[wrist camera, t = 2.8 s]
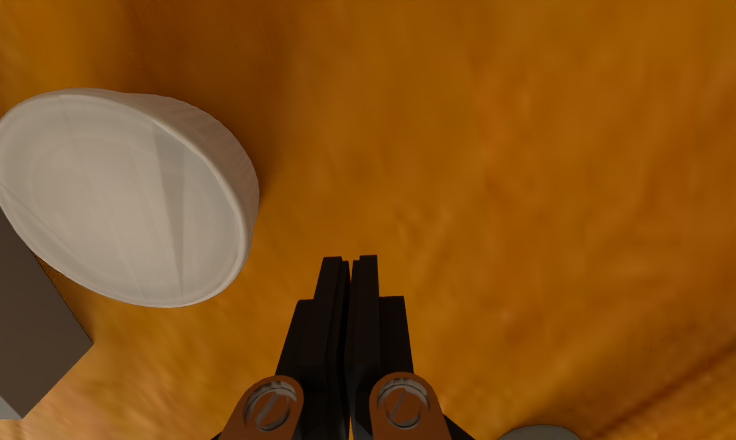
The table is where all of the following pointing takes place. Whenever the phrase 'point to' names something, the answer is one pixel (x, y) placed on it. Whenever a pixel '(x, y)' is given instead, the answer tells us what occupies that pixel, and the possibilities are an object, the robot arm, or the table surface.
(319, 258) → the table surface
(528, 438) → the blue-grey plant pot
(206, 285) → the ramekin
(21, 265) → the board
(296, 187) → the table surface
